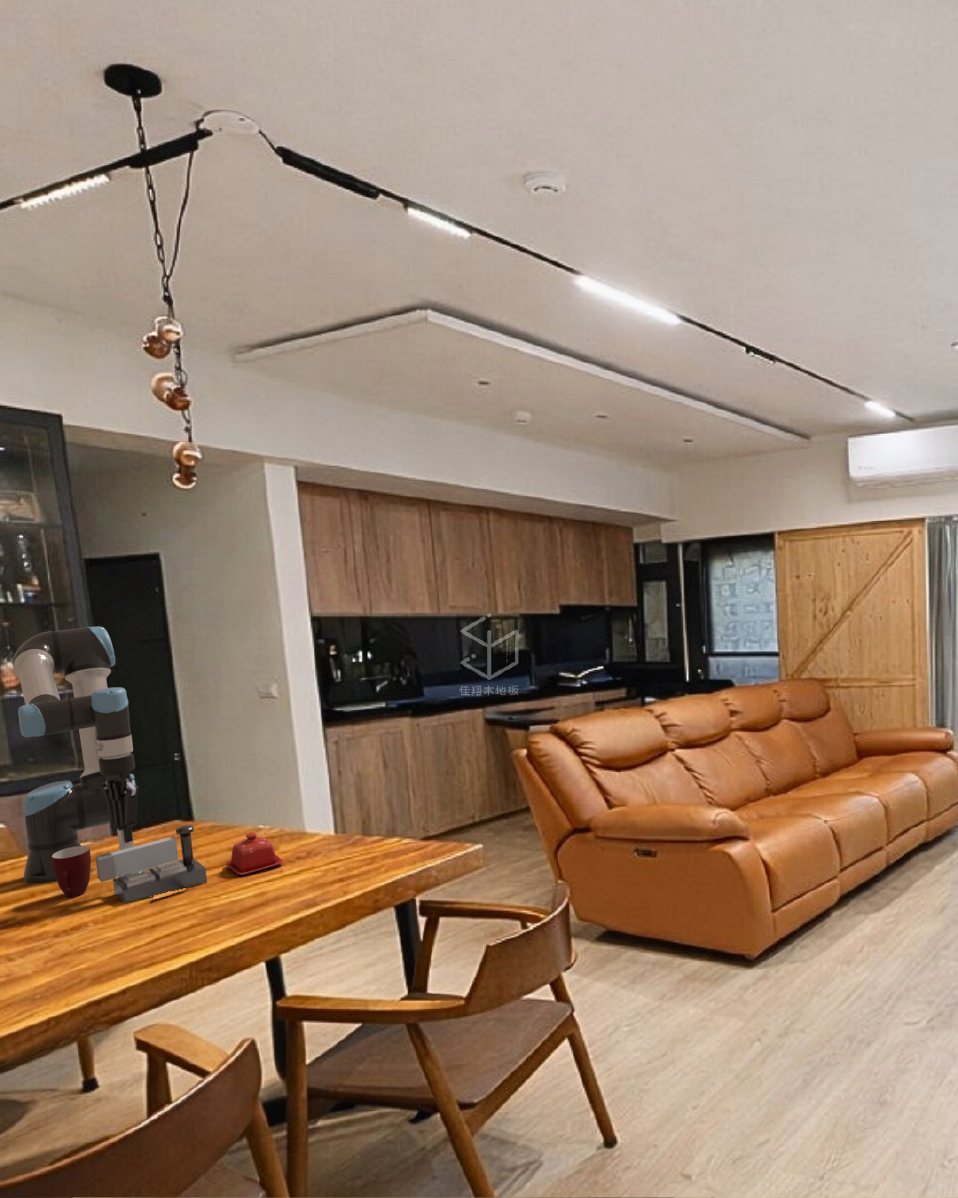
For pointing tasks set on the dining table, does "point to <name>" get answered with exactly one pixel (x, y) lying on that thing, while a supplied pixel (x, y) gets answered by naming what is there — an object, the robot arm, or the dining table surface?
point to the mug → (72, 869)
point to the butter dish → (253, 855)
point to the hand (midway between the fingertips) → (127, 855)
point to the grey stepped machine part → (163, 874)
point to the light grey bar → (136, 858)
